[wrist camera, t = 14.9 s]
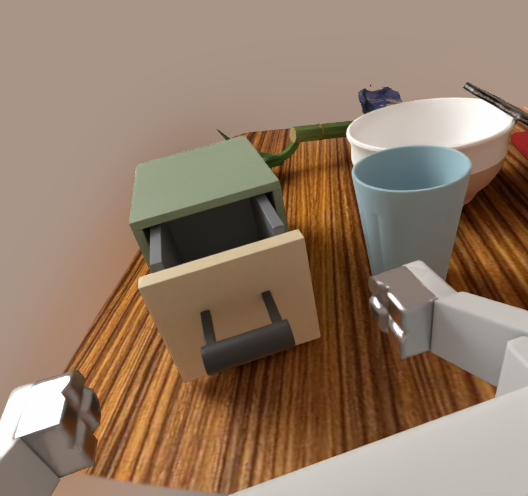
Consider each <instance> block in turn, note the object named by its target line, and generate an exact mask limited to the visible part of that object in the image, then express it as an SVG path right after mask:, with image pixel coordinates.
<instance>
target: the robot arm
mask: <svg viewBox="0 0 528 496" xmlns="http://www.w3.org/2000/svg"><path fill="white" fill-rule="evenodd" d="M368 288H369V289H370V291H371V292H372V293H373V294H372V296H371V297H370V299H369V307H370V311H371V315H372V318H373V320H374V322H375V324H376V325H377V327H378V328H379V330H380V331H382V332H384V333H387V334H388V341H389V343H390V345H391V346H392V347H393V349H394V350H395V352H396V353H397V354H398V356H399V357H400V358H401V359H405V358H408V357H411V356H414V355H417V354H421V353H424V352H427V351H430V350H431V352H432V353H433V354H435V355H437V356H439V357H441V358H443V359H445V360H446V361H448V362H450V363H452V364H454V365H456V366H458V367H460V368H461V369H463V370H465V371H467V372H469V373H471V374H473V375H474V376H476V377H478V378H480V379H482V380H484V381H486V382H488V383H489V384H491V385H493V386H495V387H497V391H496V395H495V398H493V399H490V400H488V401H485V402H482V403H479V404H477V405H474V406H471V407H468V408H466V409H463V410H460V411H457V412H455V413H452V414H449V415H446V416H444V417H441V418H438V419H435V420H433V421H430V422H427V423H424V424H422V425H419V426H416V427H414V428H411V429H408V430H405V431H403V432H400V433H397V434H394V435H392V436H389V437H386V438H383V439H381V440H378V441H375V442H373V443H370V444H367V445H364V446H362V447H359V448H356V449H353V450H351V451H348V452H345V453H343V454H340V455H337V456H334V457H332V458H329V459H326V460H323V461H321V462H318V463H315V464H312V465H310V466H307V467H304V468H302V469H299V470H296V471H293V472H291V473H288V474H285V475H282V476H280V477H277V478H274V479H271V480H269V481H266V482H263V483H260V484H258V485H255V486H252V487H249V488H247V489H244V490H241V491H239V492H236V493H233V494H230V495H228V496H528V311H527V310H524V309H520V308H517V307H514V306H510V305H507V304H504V303H500V302H497V301H494V300H490V299H487V298H483V297H480V296H477V295H473V294H470V293H467V292H463V291H462V292H459V293H457V292H456V291H455V290H454V289H453V288H452V287H451V286H450V285H448V284H447V283H446V282H445V281H444V280H443V279H442V278H441V277H439V276H438V275H437V274H436V273H435V272H434V271H433V270H432V269H430V268H429V267H428V266H427V265H426V264H425V263H424V262H423V261H420V260H417V261H414V262H411V263H408V264H405V265H402V266H400V267H397V268H394V269H391V270H388V271H385V272H382V273H379V274H376V275H373V276H369V279H368ZM84 381H85V378H84V377H83V375H82V374H81V373H80V372H79V371H77V370H73V371H70V372H67V373H63V374H60V375H56V376H53V377H50V378H47V379H43V380H40V381H36V382H34V383H31V384H28V385H24V386H20V387H17V388H16V389H14V390H13V391H12V392H11V394H10V397H9V399H8V402H7V405H6V407H5V409H4V412H3V415H2V417H1V420H0V496H51V495H52V493H53V492H54V490H55V488H56V487H57V485H58V483H59V482H60V479H59V478H61V477H64V476H67V475H69V474H72V473H75V472H77V471H80V470H83V469H85V468H88V467H91V466H93V465H94V464H95V456H96V449H97V442H98V440H97V439H96V437H95V436H94V435H93V433H94V432H95V431H96V429H97V428H98V426H99V425H100V418H101V411H100V403H99V400H98V398H97V395H96V394H95V392H94V391H93V389H90V388H87V387H85V386H84Z"/></svg>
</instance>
